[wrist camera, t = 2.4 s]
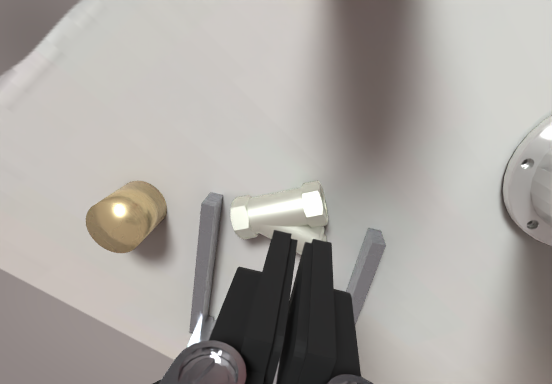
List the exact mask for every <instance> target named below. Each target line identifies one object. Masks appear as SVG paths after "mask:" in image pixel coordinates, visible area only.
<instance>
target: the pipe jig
mask: <svg viewBox="0 0 552 384" xmlns="http://www.w3.org/2000/svg"><path fill="white" fill-rule="evenodd" d="M222 198H223V195H220V194H216V193H210V194H209V195H208V196H207V198H206V199H205V200H204V201H203V202H202V205H201V216H200V226H199V237H198V247H197V258H196V268H195V279H194V290H193V300H192V311H191V321H190V332H189V333H192V334H193V335H192V337H191V339H190V341H189V343H188V345H187V347H189V346H190V345H192V344H195V343H198V342H201V341H208V340H209V338H210V335H211V333H212V330H213V328H214V325H215V323H216V321H217V320H213V319H214V317H211V316H208V311H209V303H210V295H211V287H212V279H213V271H214V263H215V255H216V247H217V238H218V230H219V222H220V214H221V206H222ZM385 246H386V245H385V242H384V239H383V235H382V232H381V231H379V230H375V229H370V228H368V230H367V233H366V236H365V239H364V242H363V244H362V247H361V250H360V253H359V256H358V259H357V262H356V264H355V267H354V270H353V273H352V276H351V279H350V282H349V284H348V287H347V290H346V292H348V293H350V294H351V297H352V305H353V313H354V322H355V324H356V321H357V319H358V316H359V314H360V311H361V308H362V306H363V303H364V301H365V298H366V295H367V293H368V290H369V288H370V285H371V282H372V280H373V277H374V275H375V272H376V270H377V267H378V264H379V262H380V259H381V257H382V254H383V251H384V249H385ZM187 347H186V348H187ZM279 360H280V359H279ZM278 367H279V363H278ZM278 367H277V371H276V374H275V378H274V382H273V384H276V381H277V374H278Z"/></svg>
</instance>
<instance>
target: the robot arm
mask: <svg viewBox="0 0 552 384" xmlns="http://www.w3.org/2000/svg"><path fill="white" fill-rule="evenodd" d="M503 196H504V203H505V205H506V208H507V211H508V213H509V215H510V216H511V218H512V219H513V221H514V222H515V223H516V224H517V225H518V226H519V227H520V228H521V229H522V230H523V231H524V232H525V233H527V234H528V235H530V236H531V237H533V238H534V239H536V240H538V241H540V242H542V243H545V244H547V245H550V246H552V115H551V116H549V117H548V118H546V119H545V120H544V121H542V122H541V123H540V124H539V125H538V126H537V127H536V128H534V129H533V130H532V131H531V132H530V133H529V134H528V135H527V136H526V138H525V139H524V140H523V141H522V142H521V144H520V145H519V146H518V147H517V149H516V151H515V153H514V154H513V156H512V158H511V160H510V161H509V164H508V167H507V170H506V173H505V176H504V183H503ZM291 235H292V234H291V233H286V232H282V231H278V230H274V232H273V236H272V239H271V243H270V246H269V250H268V253H267V257H266V261H265V264H264V268H263V271H262V272H260V271H255V270H251V269H247V268H243V267H238V269H237V271H236V273H235V276H234V278H233V281H232V283H231V286H230V288H229V291H228V293H227V296H226V298H225V301H224V303H223V306H222V308H221V311H220V313H219V316H218V318H217V321H216V323H215V325H214V328H213V330H212V333H211V335H210V338H209V340H208V341H201V342H198V343H195V344H192V345H190V346H189V347H187V348H186V349H184V350H183V351H182V352H181V353H180V354H179V355H178V356H177V357H176V359H175V360H174V362H173V363H172V365H171V366H170V368H169V369H168V371H167V372H166V373H165V375H164V376H163V378H162V379H161V380H159V381H157V382H155V383H153V384H273V382H274V378H275V374H276V371H277V367H278V363H279V367H278V374H277V381H276V384H373V383H372V382H370V381H368V380H366V379H364V378H362V377H361V373H360V364H359V356H358V347H357V339H356V330H355V322H354V313H353V305H352V297H351V294H350V293H348V292H344V291H340V290H336V289H333V266H332V245H331V243H330V242H325V241H321V240H317V239H313V240H312V243H308V242H305V243H304V247H303V251H302V255H301V259H300V262H299V266H298V270H297V274H296V278H295V282H294V286H293V289H292V293H291V285H292V278H293V271H294V264H295V256H296V249H297V242H298V240H295V239H291ZM290 293H291V297H290ZM289 300H290V301H289ZM279 359H280V360H279Z"/></svg>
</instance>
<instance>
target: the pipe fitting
mask: <svg viewBox="0 0 552 384" xmlns="http://www.w3.org/2000/svg"><path fill="white" fill-rule="evenodd" d="M230 217H231V223H232V226H233V229H234V231H235V233H236V235H237V236H239V237H240V238H241V239H243V240H244V239H249V238H255V237H257V236H258V234H259V233H260V234H262V235H264V236H266V237H268V238H270V239H272V236H273V232H274V230H278V231H282V232H286V233H291V234H292V235H291V239H295V240H298V242H297V249H296V252H297V253H299V254H300V255H302V251H303V247H304V243H305V242H308V243H312V240H313V239H317V240H321V241H325V242H326V235H324V227H323V226H324V225H327V223H328V213H327V207H326V201H325V197H324V193H323V189H322V186H321V184H320V182H319V181H313V182H308V183H303V185H302V187H301V188H296V189H291V190H286V191H282V192H277V193H272V194H267V195H262V196H257V197H253V198H252V197H251V196H250V195H246V196H241V197H236V198H235V199H234V200H233V202H232V203H231V207H230Z"/></svg>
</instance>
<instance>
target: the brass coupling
mask: <svg viewBox="0 0 552 384" xmlns="http://www.w3.org/2000/svg"><path fill="white" fill-rule="evenodd" d="M166 211H167V206H166V202H165V199H164V197H163V195H162V194H161V193H160V191H159V190H158V189H156V188H155V187H154V186H152V185H151V184H149V183H146V182H143V181H132V182H129V183H127V184H126V185H124V186H123V187H121V188H120V189H118V190H117V191H115V192H114V193H112V194H111V195H109V196H107V197H106V198H104V199H103V200H101V201H100V202H98V203H97V204H95V205H94V206H92V207H91V208H90V209H89V211H88V213H87V215H86V226H87V229H88V232H89V233H90V235H91V237H92V238H93V239H94V240H95V242H97V243H98V244H99V245H100V246H101V247H103V248H105V249H107V250H109V251H111V252H115V253H127V252H130V251H132V250H134V249H135V248H136V247H137V246H138V245H139V244H140V243H141V242H142V241H143V240H144V239H145V238H146V237H147V236H148V235H149V234H150V233H151V231H152V230H153V229H154V228H155V227H156V226H157V225H158V224H159V223H160V222H161V221H162V220H163V219H164V217H165V215H166Z"/></svg>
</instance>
